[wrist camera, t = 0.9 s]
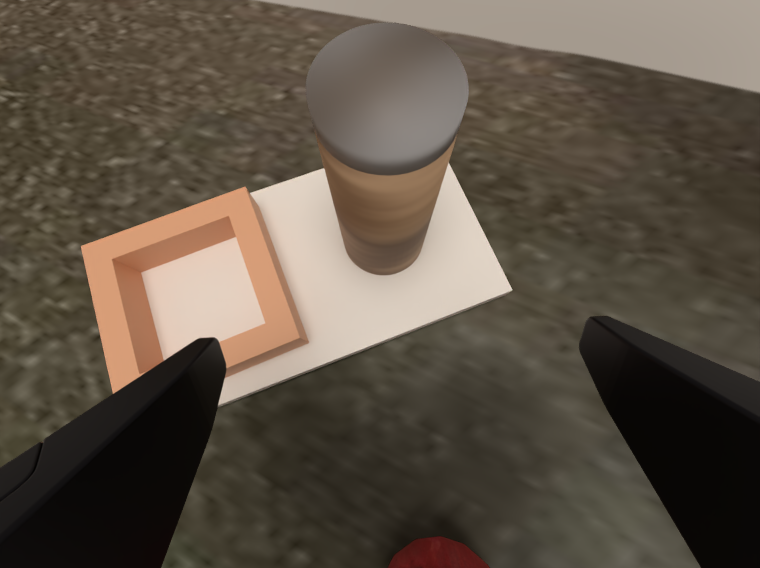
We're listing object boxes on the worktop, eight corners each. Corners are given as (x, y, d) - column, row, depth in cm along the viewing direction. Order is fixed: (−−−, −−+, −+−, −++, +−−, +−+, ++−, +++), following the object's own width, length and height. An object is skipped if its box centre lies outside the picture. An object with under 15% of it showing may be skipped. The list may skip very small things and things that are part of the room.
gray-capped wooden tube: (439, 229, 23) (499, 71, 11) (392, 291, 22) (406, 187, 10) (375, 187, 24) (370, -1, 12) (327, 244, 23) (272, 99, 11)
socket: (309, 342, 21) (300, 337, 19) (149, 409, 20) (117, 413, 18) (259, 207, 23) (245, 186, 21) (113, 261, 22) (81, 246, 20)
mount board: (430, 142, 26) (433, 131, 25) (505, 294, 23) (512, 290, 22) (104, 253, 24) (90, 246, 23) (141, 437, 21) (127, 440, 20)
